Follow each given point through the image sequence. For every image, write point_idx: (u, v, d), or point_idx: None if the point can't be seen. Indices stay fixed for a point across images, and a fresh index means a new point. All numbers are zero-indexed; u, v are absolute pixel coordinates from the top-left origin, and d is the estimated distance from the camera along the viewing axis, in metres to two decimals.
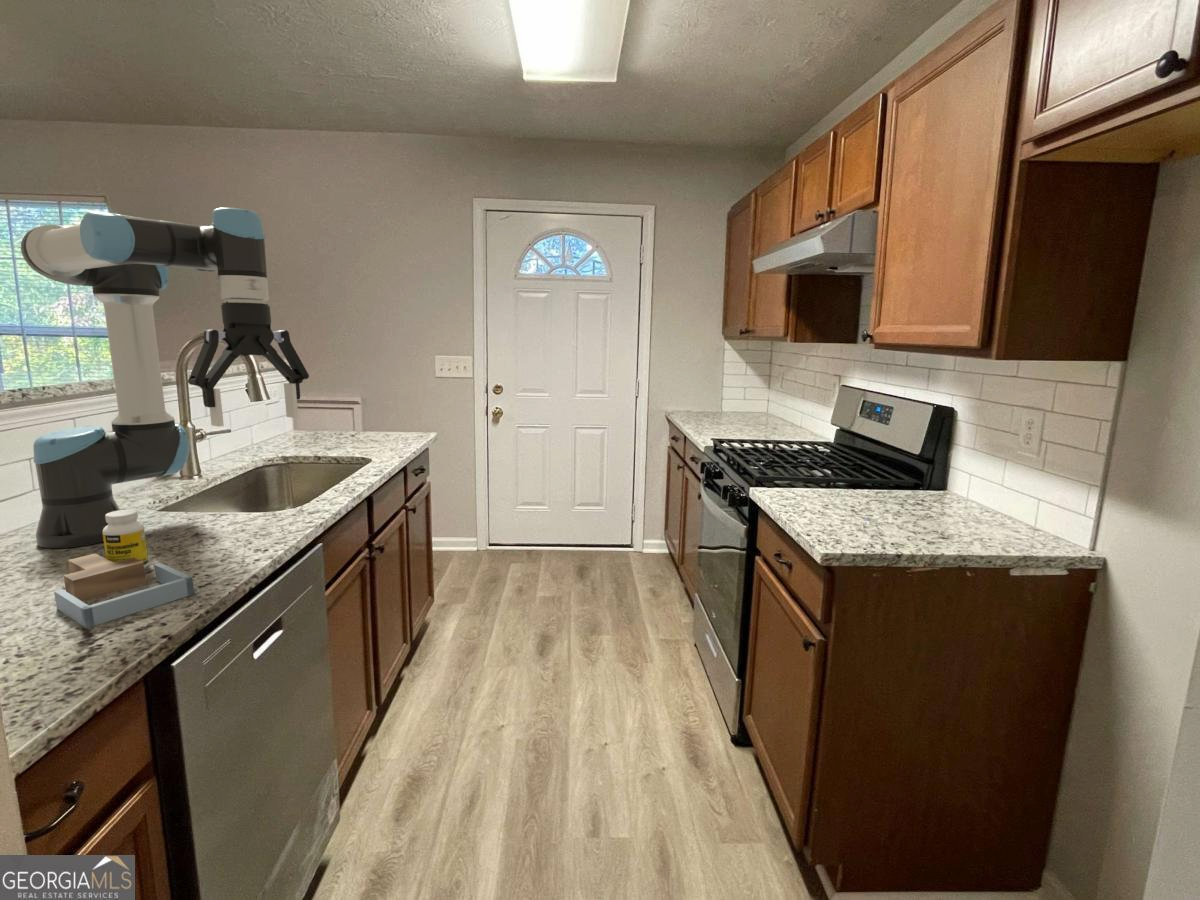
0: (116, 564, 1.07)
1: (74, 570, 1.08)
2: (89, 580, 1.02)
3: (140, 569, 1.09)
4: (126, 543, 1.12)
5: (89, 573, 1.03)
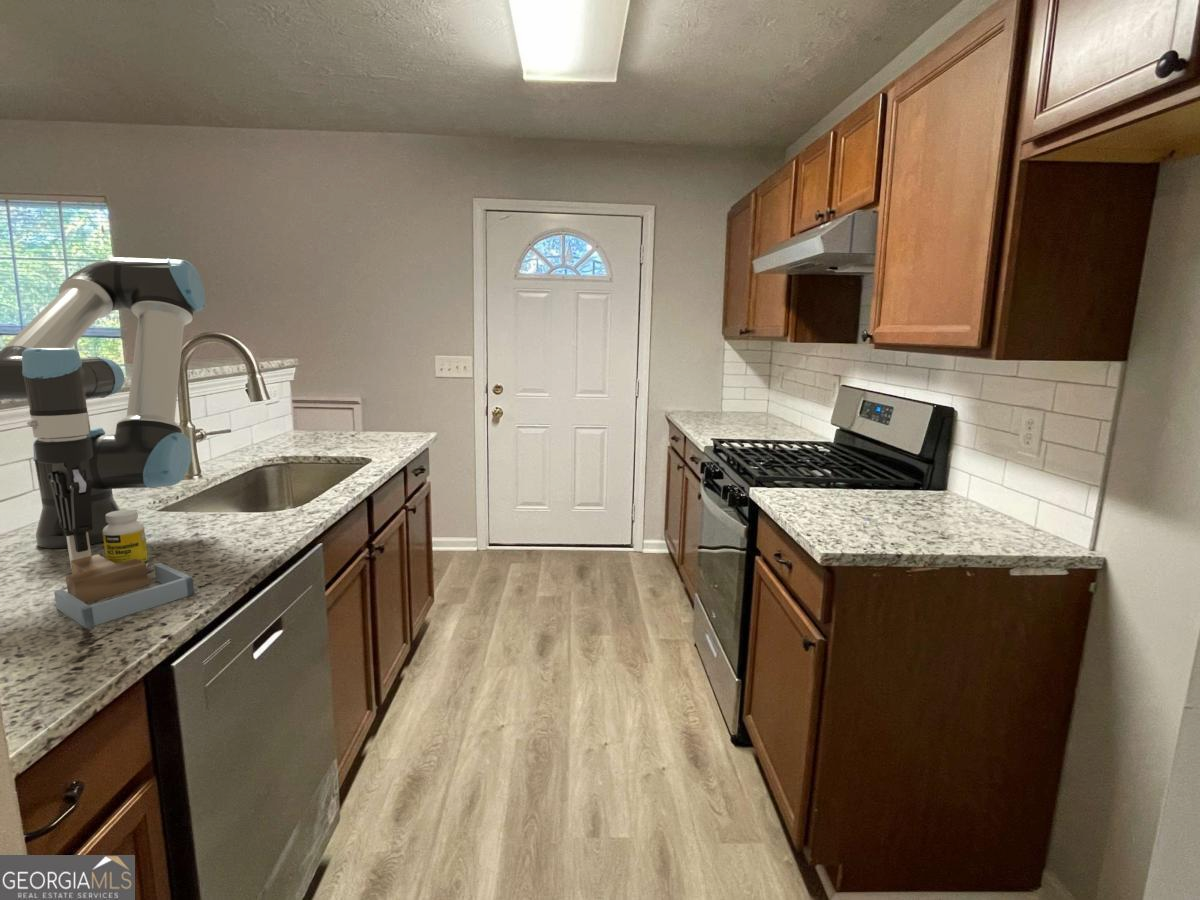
0: (118, 565, 1.07)
1: (76, 571, 1.08)
2: (91, 581, 1.02)
3: (143, 571, 1.08)
4: (127, 543, 1.12)
5: (91, 574, 1.03)
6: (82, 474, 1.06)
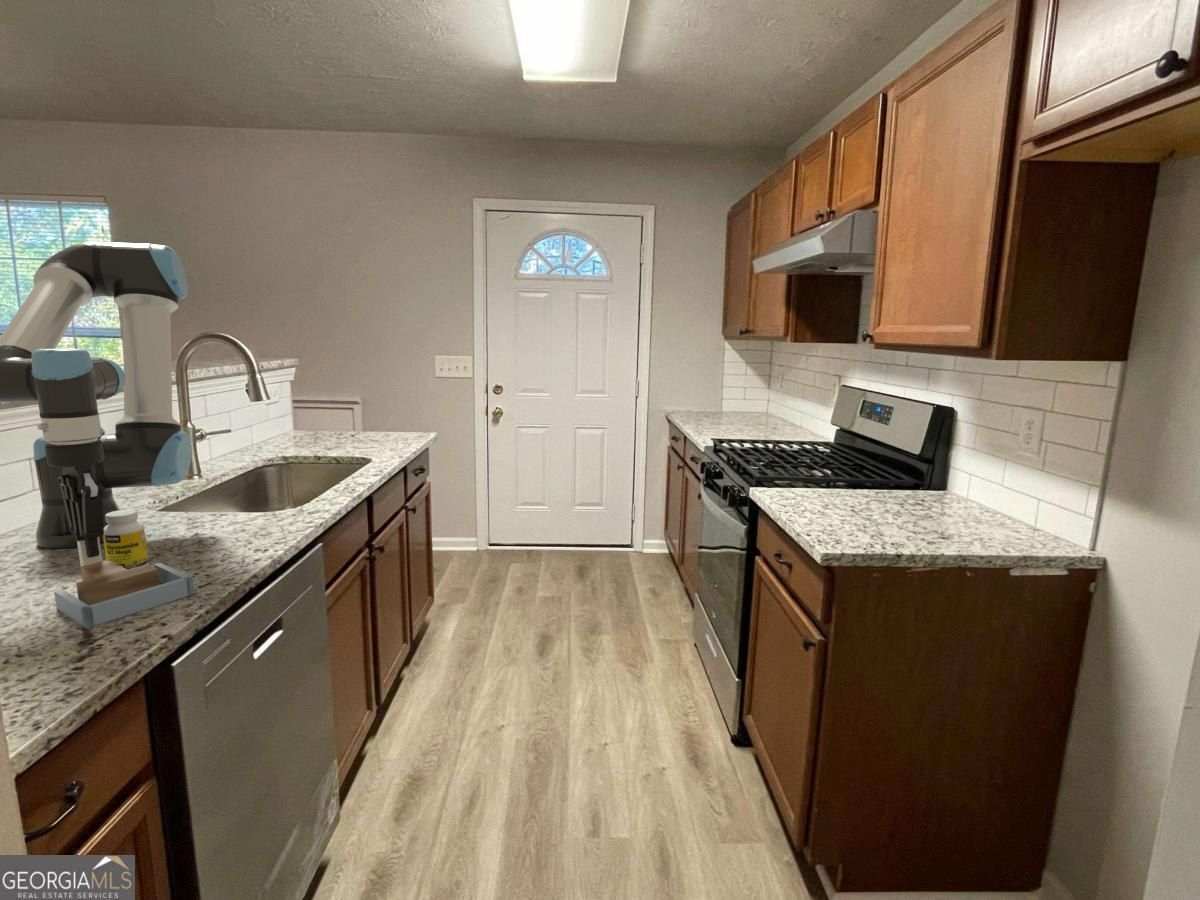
0: (130, 571, 1.04)
1: (87, 577, 1.05)
2: (103, 588, 0.99)
3: (155, 576, 1.05)
4: (126, 543, 1.12)
5: (102, 581, 1.00)
6: (93, 478, 1.04)
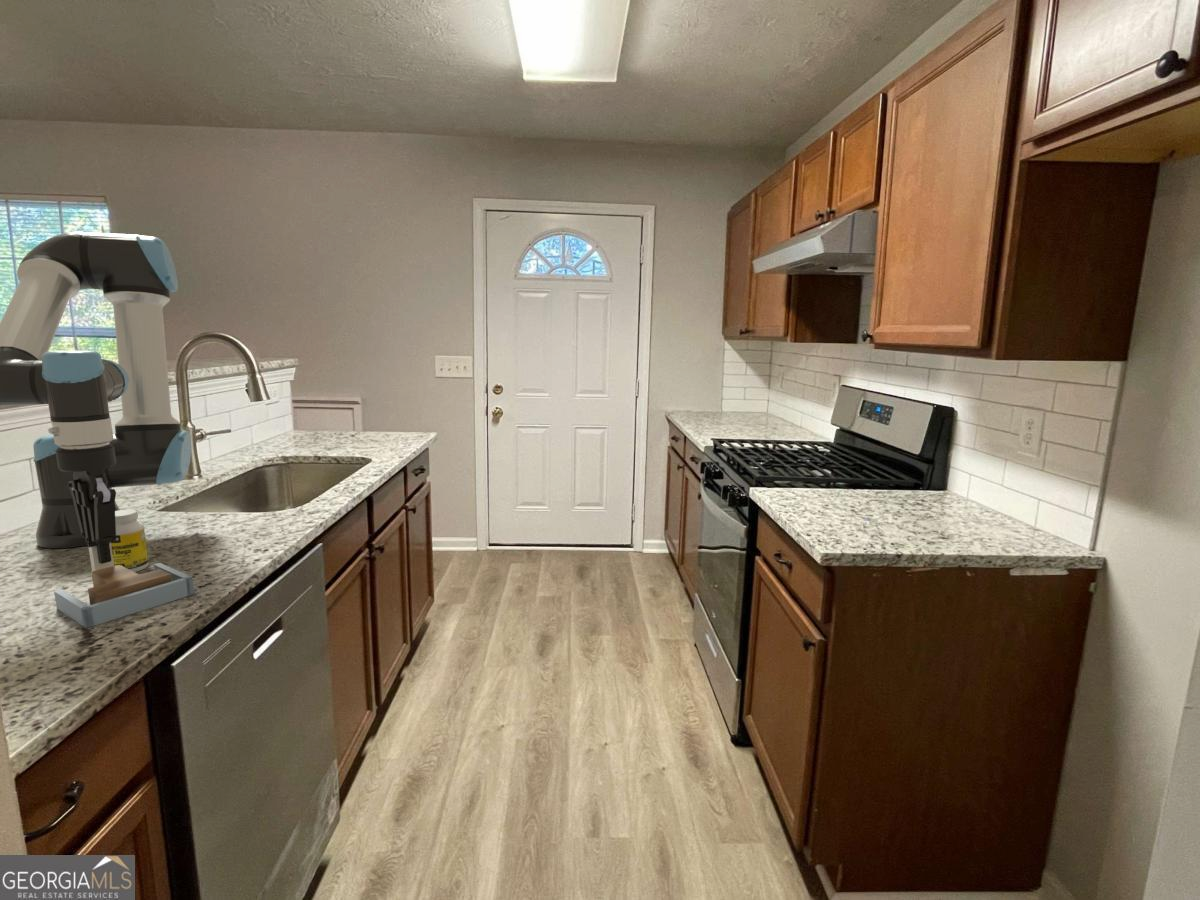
0: (142, 576, 1.02)
1: (98, 582, 1.03)
2: (115, 593, 0.97)
3: (167, 582, 1.03)
4: (126, 543, 1.12)
5: (115, 586, 0.98)
6: (105, 483, 1.02)
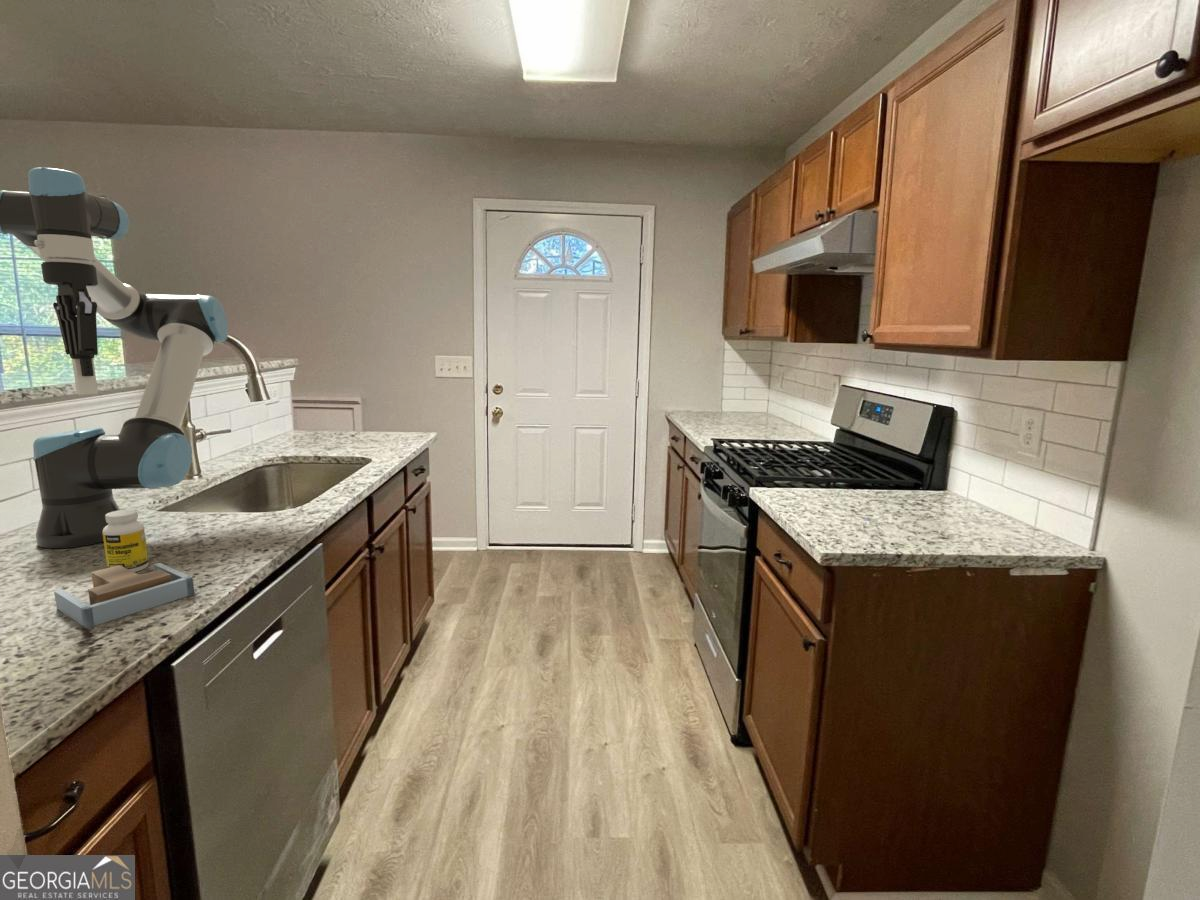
0: (142, 577, 1.02)
1: (98, 583, 1.03)
2: (115, 594, 0.97)
3: None
4: (127, 543, 1.12)
5: (115, 587, 0.98)
6: (87, 297, 1.10)
